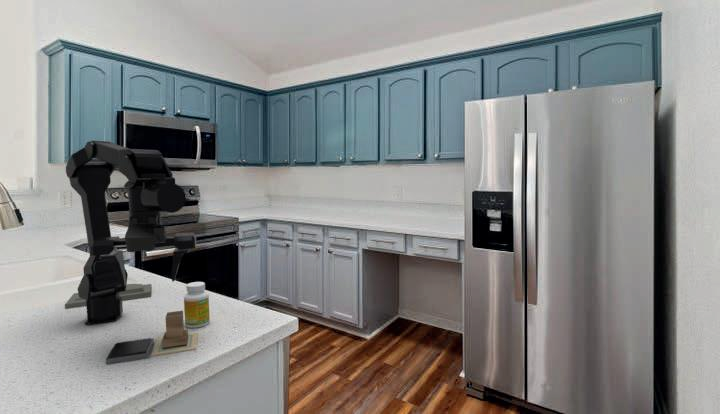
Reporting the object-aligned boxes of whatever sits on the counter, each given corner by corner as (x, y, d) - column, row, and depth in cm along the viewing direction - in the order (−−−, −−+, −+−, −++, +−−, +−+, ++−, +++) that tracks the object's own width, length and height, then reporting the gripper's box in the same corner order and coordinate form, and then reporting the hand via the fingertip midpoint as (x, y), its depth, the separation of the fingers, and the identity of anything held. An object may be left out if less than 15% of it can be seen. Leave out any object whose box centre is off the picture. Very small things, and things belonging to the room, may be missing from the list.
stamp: (165, 340, 80) (163, 311, 79) (188, 337, 81) (187, 308, 81) (162, 349, 76) (160, 319, 75) (186, 345, 77) (185, 316, 77)
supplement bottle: (200, 329, 86) (198, 288, 85) (179, 327, 87) (177, 286, 87) (214, 320, 92) (212, 281, 91) (194, 318, 93) (192, 280, 92)
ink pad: (106, 364, 70) (105, 357, 70) (115, 348, 77) (114, 342, 77) (148, 357, 73) (147, 351, 73) (153, 342, 79) (153, 336, 79)
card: (151, 356, 74) (151, 354, 74) (157, 339, 81) (157, 337, 81) (196, 349, 76) (195, 347, 76) (197, 333, 84) (197, 332, 84)
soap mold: (73, 300, 108) (72, 288, 108) (152, 289, 118) (151, 278, 117) (65, 311, 99) (64, 298, 99) (151, 299, 109) (150, 287, 108)
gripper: (78, 216, 67) (84, 300, 69) (191, 212, 74) (195, 289, 75) (96, 210, 78) (101, 284, 79) (194, 207, 84) (197, 275, 86)
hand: (149, 283), depth 80 cm, fingers open, 9 cm apart
